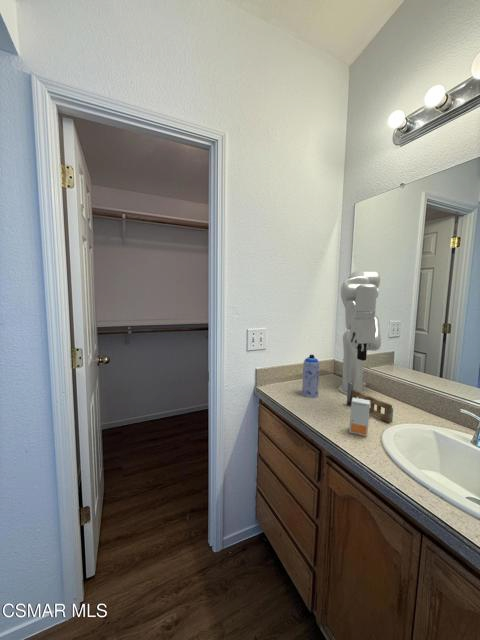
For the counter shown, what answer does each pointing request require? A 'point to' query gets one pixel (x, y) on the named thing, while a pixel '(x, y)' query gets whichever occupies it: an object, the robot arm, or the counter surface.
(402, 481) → the counter surface
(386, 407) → the gate
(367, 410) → the skincare box
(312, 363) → the aerosol can
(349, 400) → the teal elongated shape
